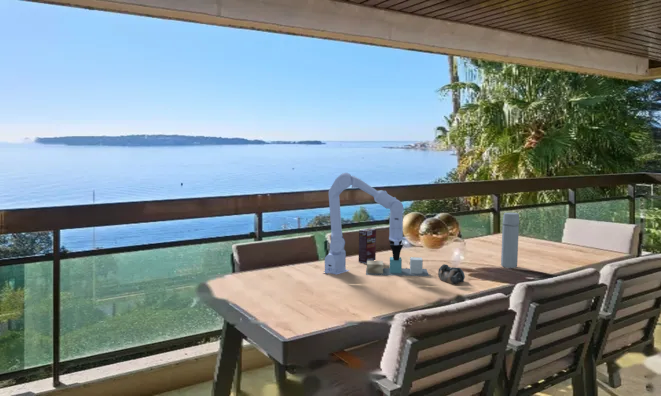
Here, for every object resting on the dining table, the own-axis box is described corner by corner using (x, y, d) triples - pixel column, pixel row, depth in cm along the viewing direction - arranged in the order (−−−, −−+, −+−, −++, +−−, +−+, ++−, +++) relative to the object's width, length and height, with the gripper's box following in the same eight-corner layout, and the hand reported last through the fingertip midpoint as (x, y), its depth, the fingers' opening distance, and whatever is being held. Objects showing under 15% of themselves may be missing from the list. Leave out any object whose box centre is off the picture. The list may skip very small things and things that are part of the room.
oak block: (366, 273, 220) (367, 264, 220) (367, 269, 227) (367, 260, 227) (383, 273, 220) (383, 264, 219) (382, 269, 227) (382, 260, 226)
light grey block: (410, 273, 220) (411, 259, 219) (410, 270, 225) (410, 257, 224) (422, 273, 220) (422, 260, 219) (421, 270, 225) (421, 257, 224)
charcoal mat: (365, 276, 218) (365, 274, 218) (366, 268, 231) (366, 267, 230) (429, 277, 215) (429, 276, 215) (426, 270, 228) (426, 268, 228)
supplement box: (366, 264, 239) (366, 231, 237) (358, 263, 242) (358, 230, 240) (376, 261, 246) (376, 229, 244) (367, 259, 249) (368, 228, 247)
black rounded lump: (439, 278, 215) (430, 283, 206) (440, 262, 214) (431, 266, 206) (467, 283, 208) (459, 288, 200) (468, 266, 208) (460, 270, 199)
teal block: (389, 273, 221) (390, 259, 220) (389, 270, 226) (389, 257, 225) (401, 273, 220) (401, 259, 220) (400, 270, 225) (401, 257, 225)
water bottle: (519, 269, 230) (521, 214, 227) (501, 268, 232) (503, 214, 229) (516, 264, 239) (518, 212, 236) (498, 263, 241) (500, 211, 238)
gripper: (406, 230, 213) (405, 262, 215) (404, 225, 228) (404, 254, 229) (389, 230, 214) (389, 261, 215) (388, 225, 228) (388, 254, 230)
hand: (395, 258), depth 222 cm, fingers open, 7 cm apart
